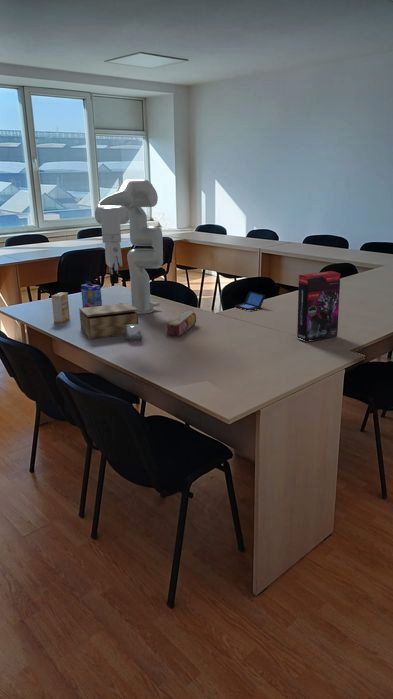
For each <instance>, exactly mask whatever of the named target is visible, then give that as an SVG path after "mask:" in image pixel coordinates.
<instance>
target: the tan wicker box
mask: <svg viewBox="0 0 393 699" xmlns="http://www.w3.org/2000/svg"><path fill="white" fill-rule="evenodd" d="M78 313H79V319H80V320H79V323H80V329H81V331H82V332H83V333H84V335H85V336H86V337H87V338H88V340H97V339H102V338H109V337H118V336H119V337H120V336H126V326H127V325H130V324H138V325H140V324H139V314H138V313H137V312H135V311H134V312H125V313H116V314H108V315H99V316H90V317H87V316H86V315H85V314H83V313H82V312H81V311H80V310H79V312H78Z"/></svg>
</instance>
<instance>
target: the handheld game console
mask: <svg viewBox="0 0 393 699" xmlns="http://www.w3.org/2000/svg"><path fill="white" fill-rule="evenodd" d="M265 299H266V295H265V294H263V293H261V292H257V291H256V292H255V291H251V290H250V291H248V293H247V295H246V298H245V300H244V301H243V303H240V304H235V305H234V308H236V309H240V308H242V309H241V310H243V309H246V310H245V311H247V310H255V309H259V310H261V309H260V308H262V305H263V303H264V302H265V301H264V300H265ZM255 311H256V310H255Z"/></svg>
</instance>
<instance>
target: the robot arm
mask: <svg viewBox="0 0 393 699" xmlns="http://www.w3.org/2000/svg"><path fill="white" fill-rule="evenodd" d="M158 197H159V196H158V191H157V190H156V188H155V187H154V185H153V184H152V182H150V180H148V179H144V178H143V179H141V178H139V179H134V178H133V179H132V178H131V179H130V178H129V179H124V180H123V181H121V183H120V185H119V187H118V189H117V190H116V192H114V193H112V194H109V195H108V196H106V197H104V198H102V199H101V200H100V201H99V202H98V204H97V205H96V206H95V210H94V219H95V221H96V222H97V224H100V225H101V237H102V238H101V239H102V243H103V244H104V255H105V264H106V265H107V266H108V269H109V282H110V284H111V285H115V284H119V283H120V281H119V267H120V268H122V267H123V259H122V258H123V256H122V248H121V242H122V233H121V225H125V224H127V223H129V239H130V240H129V241H130V243H131V245H133V246H137V247H138V246H139V247H141V246H142V247H152V248H132V249H130V250H129V251H128V253H127V258H126V259H127V263H128V270H129V276H130V277H129V278H130V279H129V280H130V295H131V296H130V297H131V306H133V307H135V308H136V309H138V311H135V312H137V313H138V315H145V314H150V313H153V312H154V311H155V307H157V308H158V307H160V305H161V303H160V302H152V301H151V286H150V284H151V283H150V275H149V274H148V272H147V270H146V269H160V268H161V267H163V264H164V251H163V250H164V249H163V248H164V244H163V243H164V242H163V239H164V237H163V231H162V229H161V228H160V226H157V225H148V215H147V213H146V211H145V210H144V209H143V208H154V207H155V206H156V205H157V204H158V201H159V200H158V199H159V198H158Z"/></svg>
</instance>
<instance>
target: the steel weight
mask: <svg viewBox="0 0 393 699" xmlns="http://www.w3.org/2000/svg"><path fill="white" fill-rule="evenodd" d="M138 324H139V323H138ZM138 324H130V325H127V326H126V335H125V336H126V342H129V341H130V343H135V341H136V342H140V341H141V339H142V337H141V335H142V334H141V325H140V324H139V325H138Z"/></svg>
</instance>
